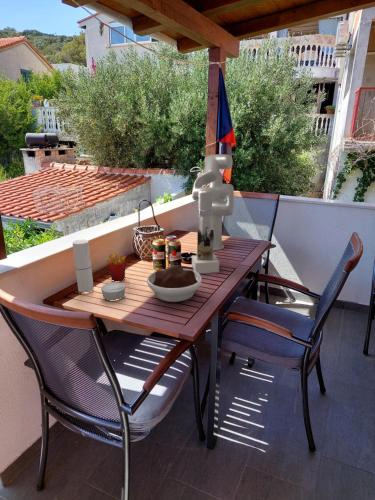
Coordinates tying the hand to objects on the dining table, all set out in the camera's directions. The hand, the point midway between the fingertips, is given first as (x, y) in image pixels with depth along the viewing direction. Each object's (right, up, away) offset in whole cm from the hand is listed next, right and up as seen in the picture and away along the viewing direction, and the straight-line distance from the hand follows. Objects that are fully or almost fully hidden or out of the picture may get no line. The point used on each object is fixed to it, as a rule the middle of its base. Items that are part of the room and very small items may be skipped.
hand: (205, 243), depth 187 cm
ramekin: (-44, -26, -29) cm, 58 cm away
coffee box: (0, -8, +3) cm, 9 cm away
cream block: (0, -14, +5) cm, 15 cm away
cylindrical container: (-59, -24, -22) cm, 67 cm away
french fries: (-46, -20, -11) cm, 51 cm away
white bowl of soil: (-16, -25, -29) cm, 42 cm away
